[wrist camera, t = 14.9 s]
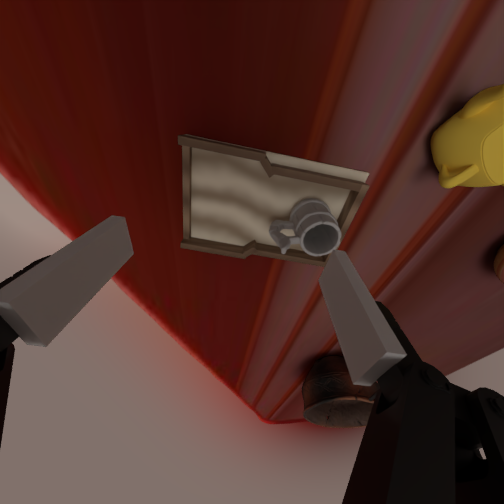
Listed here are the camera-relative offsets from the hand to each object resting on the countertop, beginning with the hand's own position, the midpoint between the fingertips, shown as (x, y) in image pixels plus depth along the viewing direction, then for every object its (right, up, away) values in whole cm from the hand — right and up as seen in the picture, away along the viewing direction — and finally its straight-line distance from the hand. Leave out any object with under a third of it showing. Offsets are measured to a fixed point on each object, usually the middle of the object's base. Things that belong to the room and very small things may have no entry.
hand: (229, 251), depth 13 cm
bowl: (+30, -41, +58) cm, 77 cm away
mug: (+11, +7, +26) cm, 29 cm away
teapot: (+35, +19, +19) cm, 44 cm away
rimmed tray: (+4, +9, +27) cm, 28 cm away
